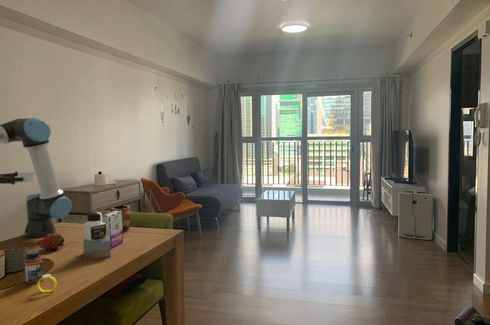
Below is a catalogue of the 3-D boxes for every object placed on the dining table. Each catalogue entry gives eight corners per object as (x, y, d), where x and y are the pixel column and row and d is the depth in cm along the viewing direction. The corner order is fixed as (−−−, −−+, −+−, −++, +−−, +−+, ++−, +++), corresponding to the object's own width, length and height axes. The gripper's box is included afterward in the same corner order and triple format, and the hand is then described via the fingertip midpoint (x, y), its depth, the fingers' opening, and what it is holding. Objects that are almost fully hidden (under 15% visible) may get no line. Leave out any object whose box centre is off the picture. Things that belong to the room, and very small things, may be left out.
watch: (37, 294, 126) (35, 278, 126) (40, 291, 129) (38, 275, 128) (55, 292, 127) (53, 275, 127) (58, 288, 130) (56, 272, 129)
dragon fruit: (66, 252, 175) (40, 257, 174) (68, 238, 182) (43, 242, 180) (60, 241, 170) (32, 246, 168) (62, 227, 176) (36, 232, 174)
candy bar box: (114, 242, 186) (113, 210, 185) (123, 242, 185) (122, 210, 184) (101, 248, 175) (100, 215, 174) (111, 249, 174) (110, 215, 173)
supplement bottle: (30, 278, 140) (28, 249, 139) (46, 277, 140) (44, 249, 139) (21, 284, 134) (20, 254, 133) (38, 284, 134) (37, 254, 133)
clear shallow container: (84, 253, 169) (83, 245, 169) (109, 250, 173) (109, 242, 173) (83, 261, 159) (83, 252, 159) (110, 258, 163) (110, 249, 163)
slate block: (84, 245, 169) (84, 237, 169) (109, 242, 173) (109, 234, 173) (83, 252, 159) (83, 243, 159) (110, 249, 163) (110, 240, 163)
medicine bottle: (91, 242, 161) (90, 215, 160) (84, 239, 166) (83, 213, 165) (106, 238, 166) (105, 212, 165) (99, 235, 171) (98, 210, 170)
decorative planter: (129, 235, 199) (128, 210, 198) (105, 236, 197) (104, 210, 196) (134, 225, 219) (133, 203, 218) (112, 226, 217) (112, 203, 216)
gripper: (-18, 185, 166) (35, 181, 176) (-30, 193, 144) (32, 188, 154) (-20, 168, 166) (34, 165, 175) (-31, 174, 144) (31, 171, 153)
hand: (33, 176), depth 165 cm, fingers open, 13 cm apart
